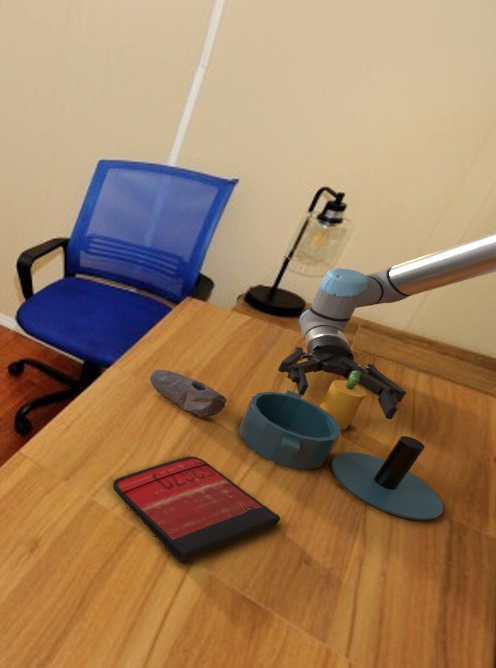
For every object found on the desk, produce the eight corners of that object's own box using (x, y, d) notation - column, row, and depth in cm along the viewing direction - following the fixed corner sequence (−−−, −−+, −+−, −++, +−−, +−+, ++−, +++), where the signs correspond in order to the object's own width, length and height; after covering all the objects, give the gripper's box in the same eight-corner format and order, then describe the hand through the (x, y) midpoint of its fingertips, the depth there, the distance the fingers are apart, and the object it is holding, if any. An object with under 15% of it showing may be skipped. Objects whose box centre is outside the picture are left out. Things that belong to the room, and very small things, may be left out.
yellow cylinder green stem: (346, 419, 107) (374, 369, 101) (347, 433, 103) (377, 383, 97) (314, 409, 110) (340, 360, 104) (314, 422, 106) (341, 372, 100)
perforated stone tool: (140, 388, 117) (148, 363, 114) (154, 381, 119) (162, 357, 116) (206, 428, 105) (217, 402, 102) (221, 419, 107) (232, 394, 104)
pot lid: (432, 481, 93) (465, 436, 87) (447, 538, 82) (485, 492, 77) (329, 445, 101) (353, 402, 96) (330, 492, 91) (358, 447, 86)
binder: (281, 516, 84) (184, 555, 78) (277, 526, 85) (180, 565, 79) (196, 450, 98) (107, 479, 92) (193, 459, 99) (105, 488, 93)
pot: (323, 431, 104) (338, 403, 101) (324, 491, 91) (342, 461, 88) (243, 403, 112) (255, 376, 108) (234, 455, 99) (247, 427, 95)
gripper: (392, 379, 113) (422, 438, 98) (257, 346, 125) (263, 395, 109) (409, 352, 110) (442, 409, 94) (267, 321, 122) (276, 367, 106)
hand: (346, 401), depth 102 cm, fingers open, 13 cm apart
